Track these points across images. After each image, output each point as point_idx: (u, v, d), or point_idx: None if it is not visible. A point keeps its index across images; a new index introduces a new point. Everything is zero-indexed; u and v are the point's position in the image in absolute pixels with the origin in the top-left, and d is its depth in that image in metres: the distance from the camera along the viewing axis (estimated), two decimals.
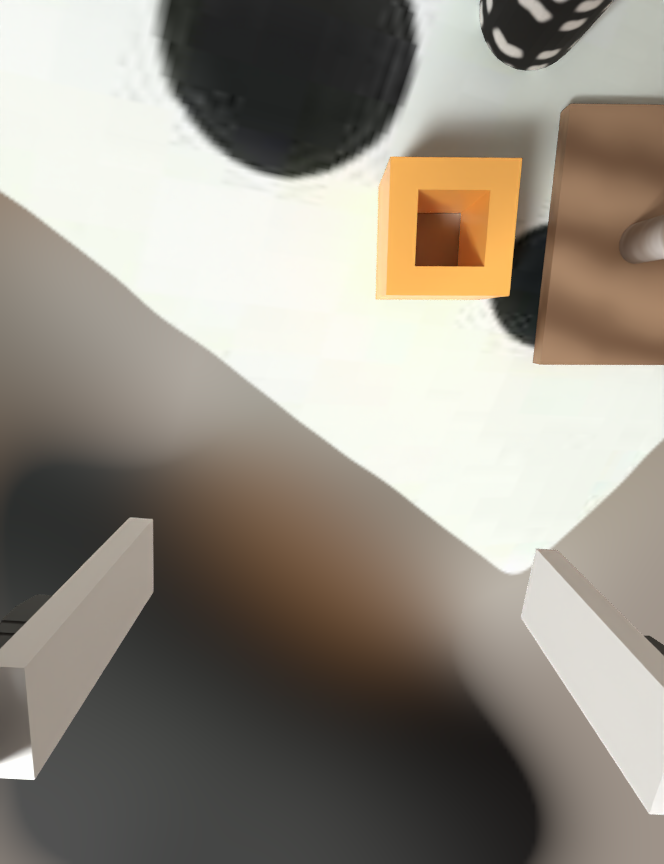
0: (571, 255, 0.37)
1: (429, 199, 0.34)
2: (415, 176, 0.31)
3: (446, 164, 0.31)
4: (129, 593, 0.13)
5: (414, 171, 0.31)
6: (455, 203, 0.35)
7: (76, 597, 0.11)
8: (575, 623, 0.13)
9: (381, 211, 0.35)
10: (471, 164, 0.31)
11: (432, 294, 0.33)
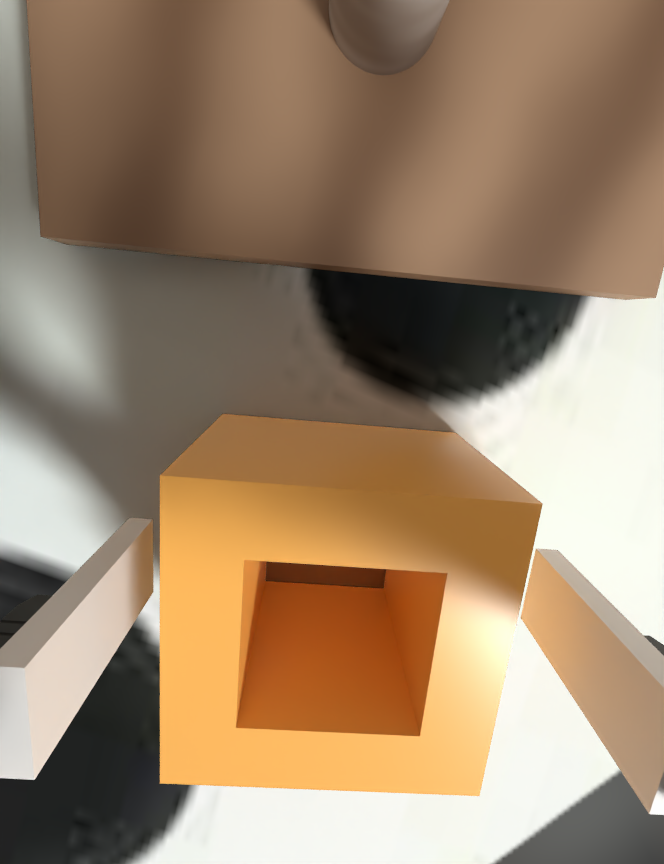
0: (395, 219, 0.14)
1: (252, 620, 0.14)
2: (205, 734, 0.12)
3: (177, 667, 0.12)
4: (129, 593, 0.13)
5: (193, 735, 0.12)
6: None
7: (76, 597, 0.11)
8: (575, 623, 0.13)
9: None
10: (177, 608, 0.11)
11: (497, 696, 0.12)
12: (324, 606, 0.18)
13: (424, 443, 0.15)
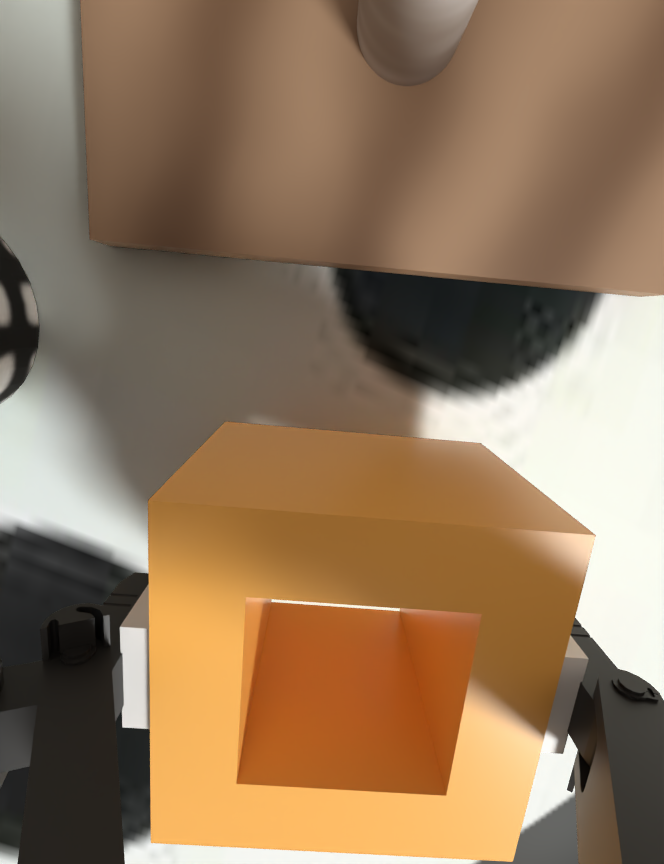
0: (416, 221, 0.15)
1: (256, 654, 0.13)
2: (201, 790, 0.11)
3: (169, 716, 0.10)
4: None
5: (188, 791, 0.11)
6: None
7: None
8: None
9: None
10: (169, 651, 0.10)
11: (536, 752, 0.11)
12: (335, 632, 0.16)
13: (448, 456, 0.14)
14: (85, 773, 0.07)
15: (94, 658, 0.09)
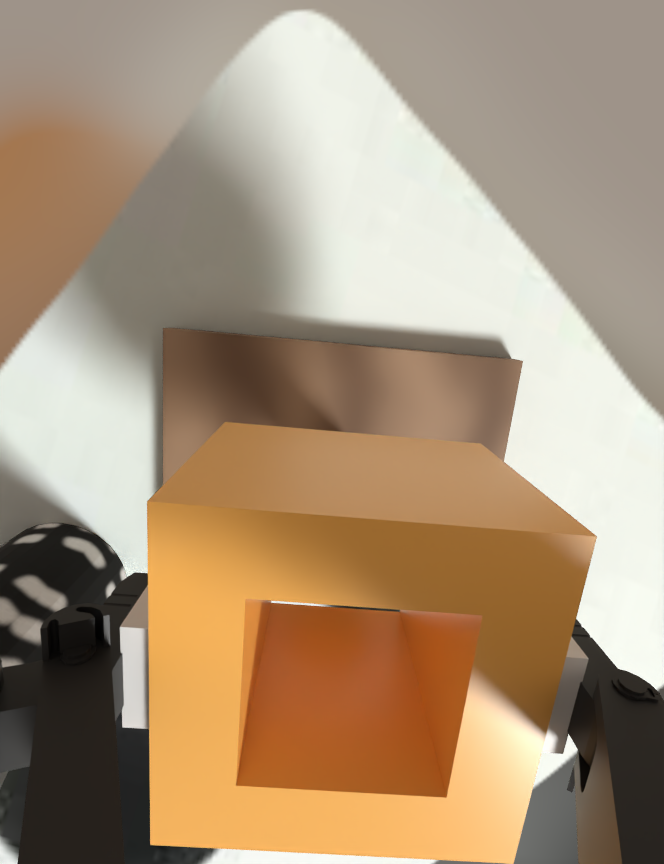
0: None
1: (256, 656, 0.13)
2: (201, 792, 0.11)
3: (169, 718, 0.10)
4: None
5: (188, 793, 0.11)
6: None
7: None
8: None
9: None
10: (168, 652, 0.10)
11: (536, 754, 0.10)
12: (335, 633, 0.16)
13: (448, 457, 0.14)
14: (85, 773, 0.07)
15: (94, 658, 0.09)
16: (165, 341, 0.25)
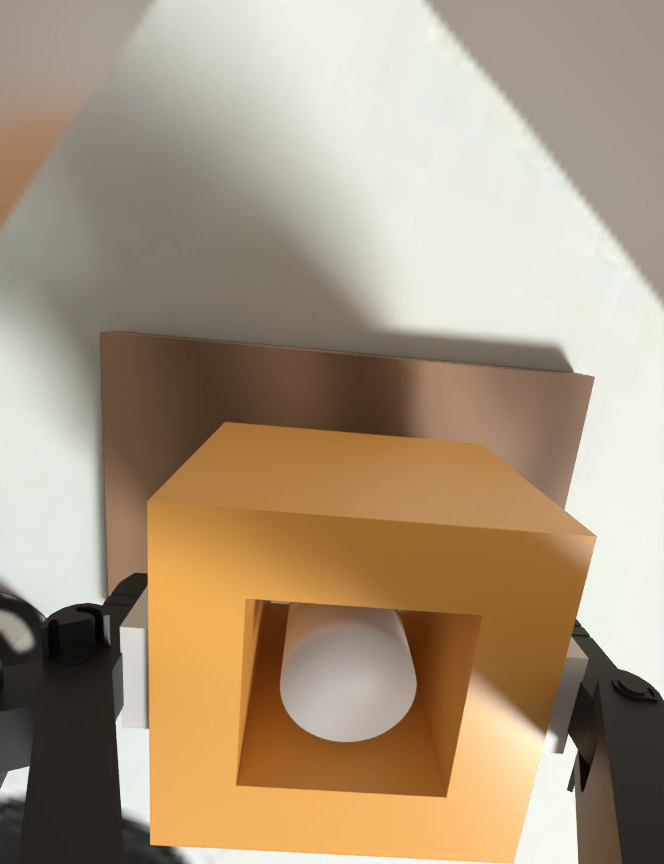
0: None
1: (256, 656, 0.13)
2: (201, 792, 0.11)
3: (169, 718, 0.10)
4: None
5: (188, 793, 0.11)
6: None
7: None
8: None
9: None
10: (168, 653, 0.10)
11: (536, 754, 0.10)
12: None
13: (448, 457, 0.14)
14: (85, 773, 0.07)
15: (94, 658, 0.09)
16: (103, 350, 0.18)
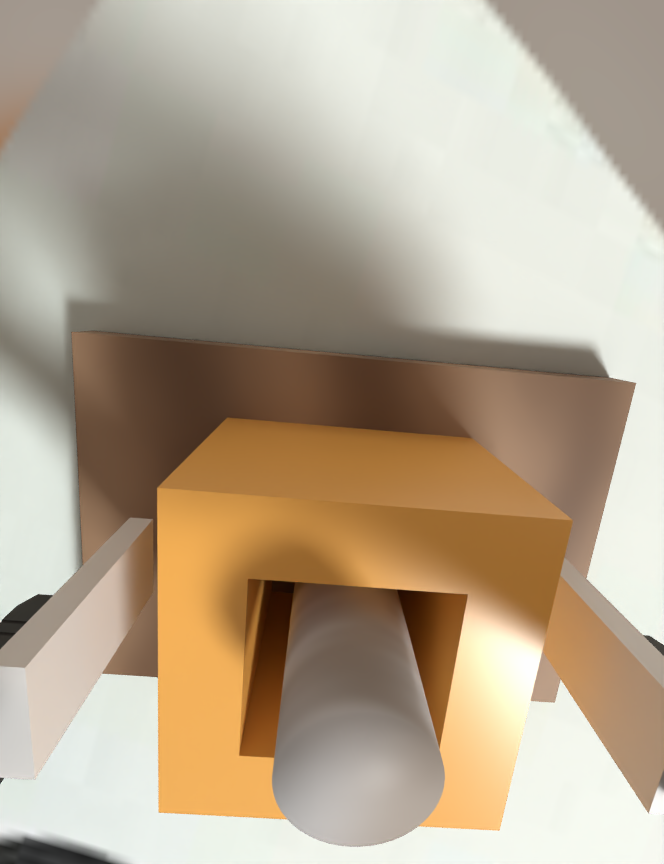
0: None
1: (257, 638, 0.13)
2: (206, 761, 0.11)
3: (176, 691, 0.11)
4: (129, 593, 0.13)
5: (194, 763, 0.11)
6: None
7: (76, 597, 0.11)
8: (574, 622, 0.13)
9: None
10: (176, 629, 0.10)
11: (520, 726, 0.11)
12: None
13: (440, 450, 0.15)
14: None
15: None
16: (76, 352, 0.16)
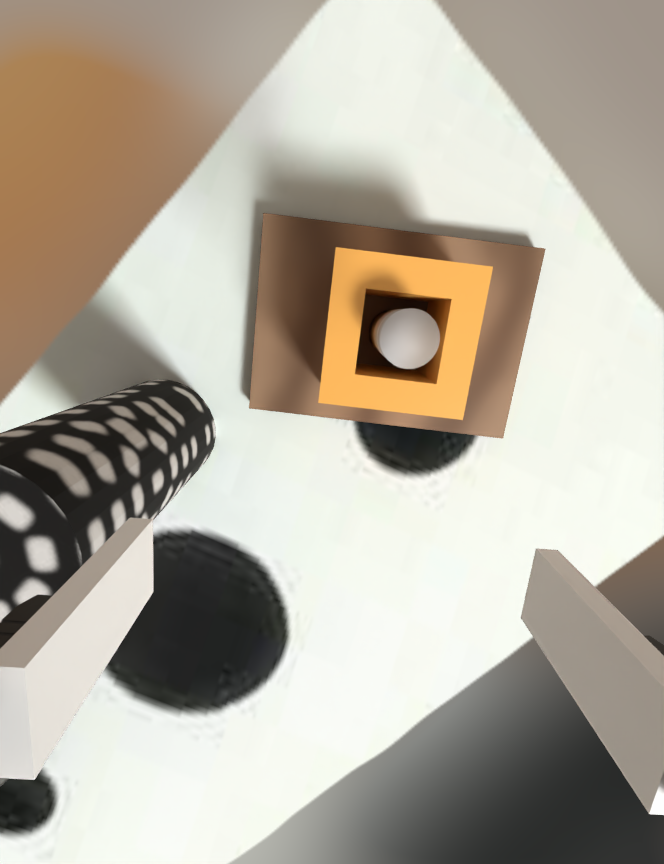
0: None
1: None
2: (341, 376, 0.27)
3: (332, 340, 0.27)
4: (129, 593, 0.13)
5: (335, 377, 0.27)
6: None
7: (76, 597, 0.11)
8: (575, 623, 0.13)
9: None
10: (335, 310, 0.26)
11: (472, 365, 0.27)
12: (385, 368, 0.33)
13: None
14: None
15: None
16: (264, 224, 0.32)
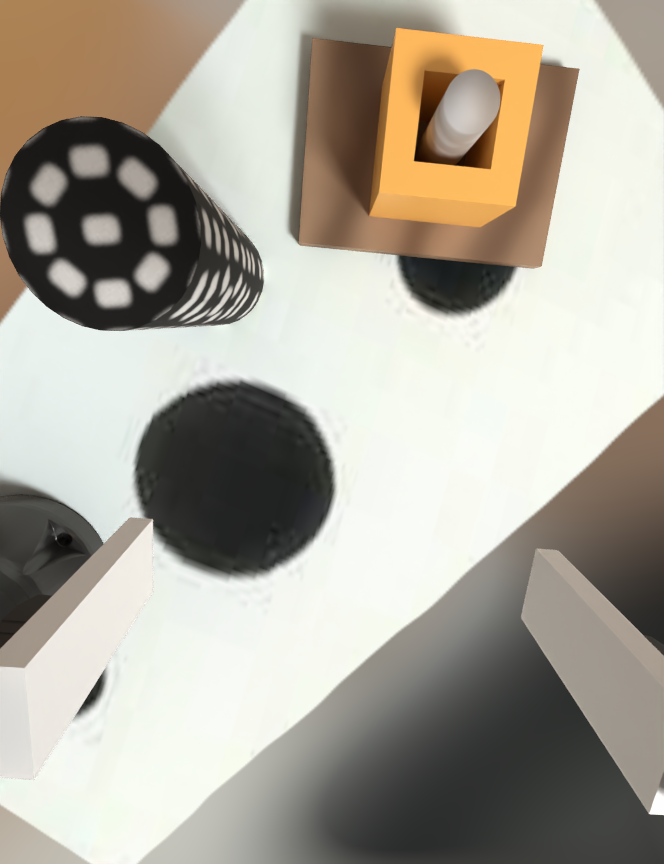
0: (436, 235, 0.36)
1: None
2: (400, 164, 0.29)
3: (393, 126, 0.28)
4: (129, 593, 0.13)
5: (395, 165, 0.29)
6: None
7: (76, 597, 0.11)
8: (574, 622, 0.13)
9: (404, 212, 0.34)
10: (396, 94, 0.28)
11: (524, 148, 0.29)
12: None
13: None
14: None
15: None
16: (313, 49, 0.33)
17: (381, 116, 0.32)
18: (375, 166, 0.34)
